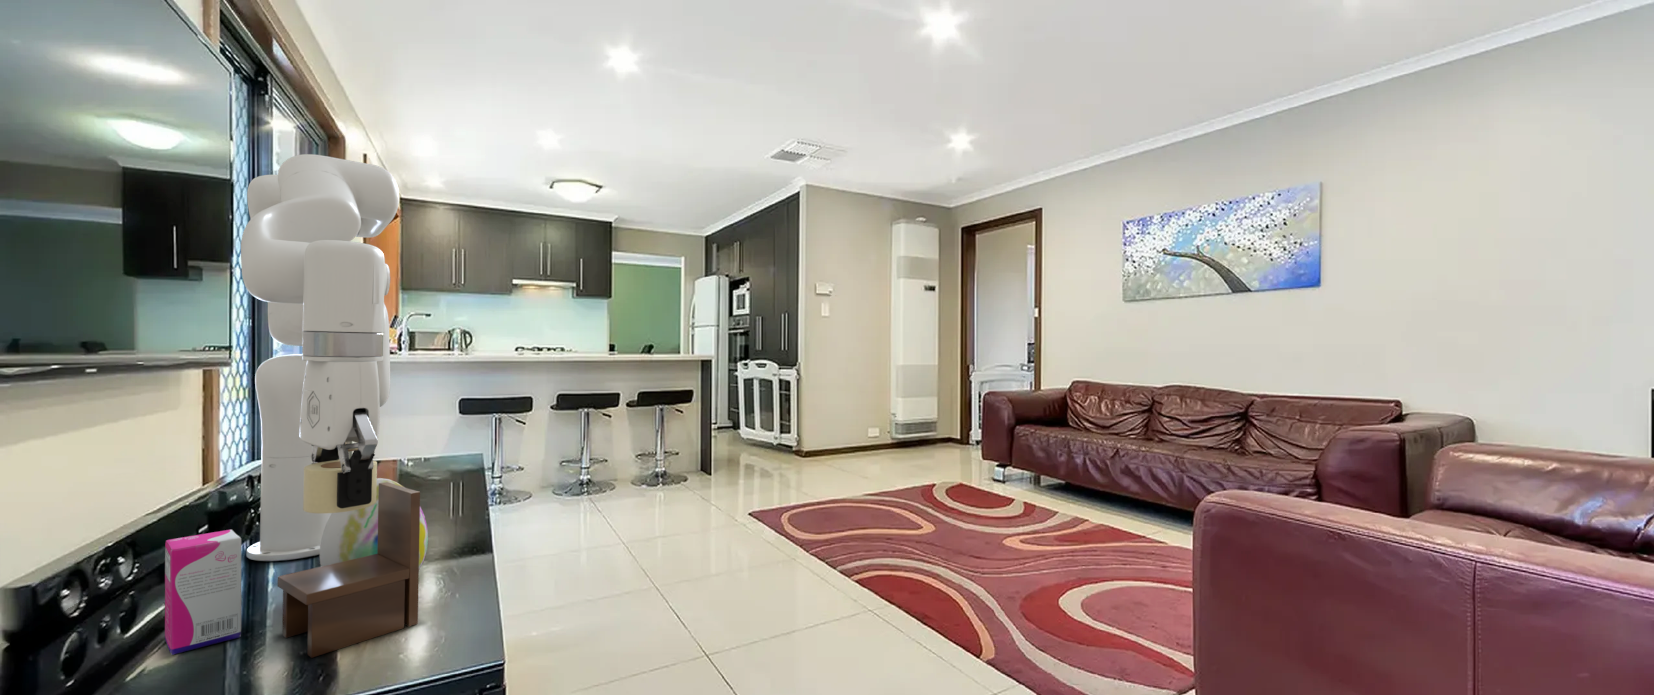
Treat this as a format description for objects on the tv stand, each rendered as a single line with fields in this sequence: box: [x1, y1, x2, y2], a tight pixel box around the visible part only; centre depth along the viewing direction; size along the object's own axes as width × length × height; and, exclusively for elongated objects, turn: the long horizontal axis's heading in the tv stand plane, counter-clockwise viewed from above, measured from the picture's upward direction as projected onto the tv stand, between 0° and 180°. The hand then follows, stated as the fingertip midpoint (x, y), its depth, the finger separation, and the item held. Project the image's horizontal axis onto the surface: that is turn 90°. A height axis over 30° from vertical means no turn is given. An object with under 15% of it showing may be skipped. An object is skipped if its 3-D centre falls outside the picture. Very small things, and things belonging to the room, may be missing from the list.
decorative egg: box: [319, 477, 429, 570], centre depth 88 cm, size 12×12×15 cm
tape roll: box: [303, 459, 378, 513], centre depth 74 cm, size 7×7×5 cm
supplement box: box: [164, 529, 242, 656], centre depth 72 cm, size 6×6×12 cm
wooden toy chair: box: [277, 482, 421, 659], centre depth 75 cm, size 9×11×16 cm
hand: (340, 498), depth 74 cm, fingers closed on tape roll, 6 cm apart
